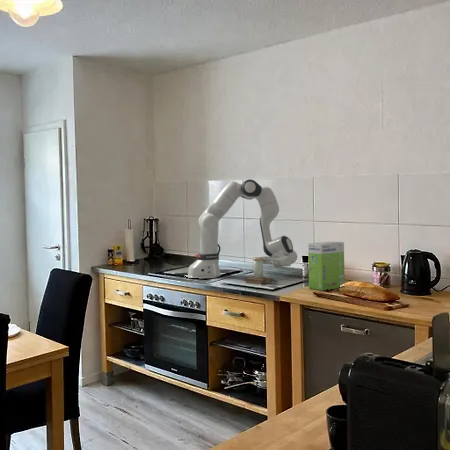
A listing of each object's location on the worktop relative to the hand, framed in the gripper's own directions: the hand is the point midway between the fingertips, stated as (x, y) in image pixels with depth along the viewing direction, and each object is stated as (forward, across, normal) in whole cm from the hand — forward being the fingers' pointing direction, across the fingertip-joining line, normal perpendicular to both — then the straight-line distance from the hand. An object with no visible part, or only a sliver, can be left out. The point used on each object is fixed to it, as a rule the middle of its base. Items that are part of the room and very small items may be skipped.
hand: (264, 262), depth 298 cm
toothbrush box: (-1, +40, +11) cm, 41 cm away
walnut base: (+6, 0, +11) cm, 12 cm away
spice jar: (+6, 0, +8) cm, 10 cm away
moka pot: (-12, -53, +11) cm, 55 cm away
